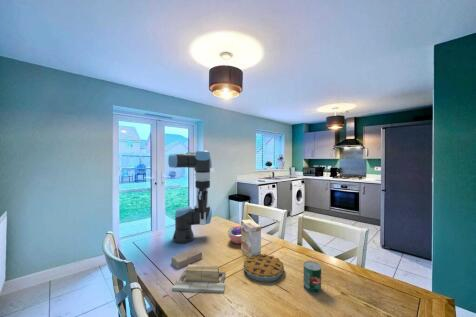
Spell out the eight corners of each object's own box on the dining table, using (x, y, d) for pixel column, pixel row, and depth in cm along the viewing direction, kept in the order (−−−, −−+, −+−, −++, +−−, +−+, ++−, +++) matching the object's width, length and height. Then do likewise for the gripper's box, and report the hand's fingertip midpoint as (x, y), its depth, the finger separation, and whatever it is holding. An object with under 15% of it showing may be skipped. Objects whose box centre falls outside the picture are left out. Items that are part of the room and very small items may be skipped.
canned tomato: (307, 281, 100) (307, 259, 100) (323, 287, 95) (323, 264, 95) (300, 289, 94) (300, 265, 94) (318, 296, 89) (318, 272, 89)
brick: (177, 269, 110) (178, 261, 110) (170, 264, 116) (170, 256, 116) (202, 259, 122) (203, 251, 122) (195, 254, 128) (195, 247, 128)
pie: (286, 264, 116) (286, 255, 116) (281, 288, 95) (281, 277, 95) (249, 258, 123) (249, 249, 123) (237, 278, 102) (237, 268, 102)
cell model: (256, 239, 150) (256, 224, 150) (242, 250, 133) (242, 233, 133) (237, 234, 159) (237, 220, 159) (222, 244, 142) (222, 228, 142)
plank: (188, 276, 104) (188, 264, 104) (219, 277, 103) (219, 265, 103) (185, 282, 99) (185, 270, 99) (217, 283, 98) (217, 271, 98)
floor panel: (182, 272, 107) (182, 270, 107) (227, 274, 105) (227, 272, 105) (172, 290, 93) (172, 287, 93) (223, 292, 91) (223, 290, 91)
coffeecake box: (240, 249, 134) (240, 220, 134) (250, 247, 137) (250, 218, 136) (251, 260, 120) (251, 227, 120) (261, 257, 123) (261, 226, 123)
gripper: (198, 178, 112) (199, 220, 113) (192, 181, 99) (192, 229, 100) (212, 178, 112) (212, 220, 113) (207, 182, 99) (207, 229, 100)
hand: (202, 224), depth 107 cm, fingers closed
